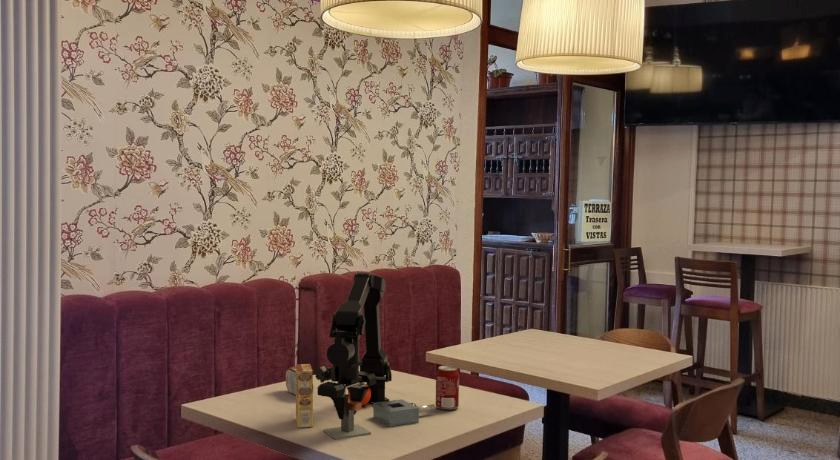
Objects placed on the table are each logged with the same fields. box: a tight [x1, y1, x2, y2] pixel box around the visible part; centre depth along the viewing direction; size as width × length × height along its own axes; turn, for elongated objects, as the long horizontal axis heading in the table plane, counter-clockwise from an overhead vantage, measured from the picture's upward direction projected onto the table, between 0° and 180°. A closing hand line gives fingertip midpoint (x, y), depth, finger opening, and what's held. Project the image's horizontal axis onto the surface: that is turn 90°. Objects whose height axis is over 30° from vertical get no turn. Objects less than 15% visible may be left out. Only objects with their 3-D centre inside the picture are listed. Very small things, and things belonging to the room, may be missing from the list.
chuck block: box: [372, 399, 436, 427], centre depth 224 cm, size 10×17×4 cm, turn 119°
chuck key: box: [333, 400, 362, 433], centre depth 209 cm, size 2×7×8 cm, turn 60°
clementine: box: [347, 382, 371, 407], centre depth 236 cm, size 8×7×7 cm
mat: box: [323, 423, 372, 440], centre depth 209 cm, size 8×10×1 cm
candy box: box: [295, 363, 314, 428], centre depth 217 cm, size 9×4×15 cm, turn 13°
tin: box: [284, 365, 296, 397], centre depth 246 cm, size 15×3×8 cm, turn 34°
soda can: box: [435, 365, 460, 411], centre depth 235 cm, size 7×7×12 cm
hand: (347, 416), depth 209 cm, fingers open, 5 cm apart
